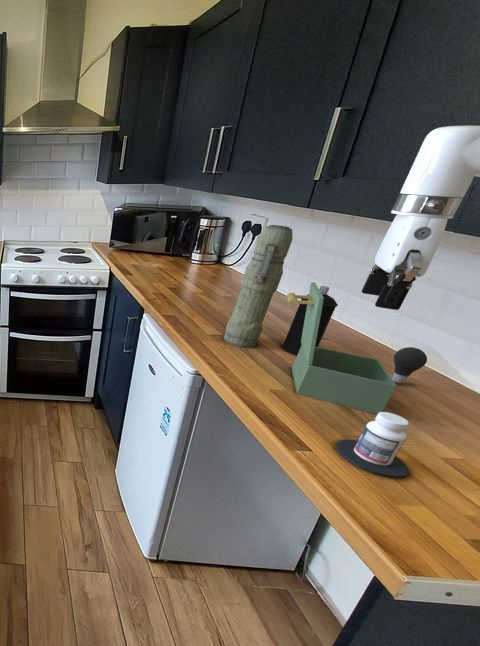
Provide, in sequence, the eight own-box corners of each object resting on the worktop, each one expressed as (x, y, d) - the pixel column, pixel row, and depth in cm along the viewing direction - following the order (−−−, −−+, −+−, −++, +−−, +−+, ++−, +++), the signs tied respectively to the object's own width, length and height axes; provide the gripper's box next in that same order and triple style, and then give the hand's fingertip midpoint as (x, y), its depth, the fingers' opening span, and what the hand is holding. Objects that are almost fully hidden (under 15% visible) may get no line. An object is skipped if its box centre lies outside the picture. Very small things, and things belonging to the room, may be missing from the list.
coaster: (398, 454, 77) (399, 452, 77) (414, 487, 69) (416, 484, 69) (332, 435, 82) (333, 433, 82) (340, 463, 74) (342, 461, 74)
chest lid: (315, 282, 100) (286, 282, 103) (323, 297, 88) (291, 297, 91) (304, 342, 105) (278, 340, 108) (311, 364, 93) (281, 361, 96)
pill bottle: (365, 445, 78) (386, 407, 75) (397, 464, 74) (422, 424, 70) (346, 449, 77) (366, 411, 73) (377, 468, 72) (401, 428, 69)
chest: (365, 386, 101) (379, 359, 98) (380, 415, 89) (396, 386, 86) (291, 368, 109) (302, 343, 105) (296, 393, 97) (308, 365, 94)
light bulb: (417, 388, 101) (438, 352, 97) (400, 389, 100) (420, 353, 96) (393, 376, 106) (411, 343, 102) (375, 378, 105) (394, 343, 101)
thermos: (256, 338, 126) (297, 225, 112) (256, 352, 117) (301, 231, 103) (223, 331, 131) (259, 222, 116) (221, 344, 122) (260, 227, 107)
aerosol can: (320, 359, 114) (350, 293, 106) (286, 354, 117) (313, 288, 109) (309, 348, 121) (336, 284, 113) (277, 343, 124) (302, 281, 116)
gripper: (480, 214, 60) (422, 319, 67) (435, 205, 74) (390, 293, 81) (412, 209, 64) (364, 309, 71) (381, 201, 77) (343, 286, 84)
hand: (378, 300), depth 76 cm, fingers open, 9 cm apart
